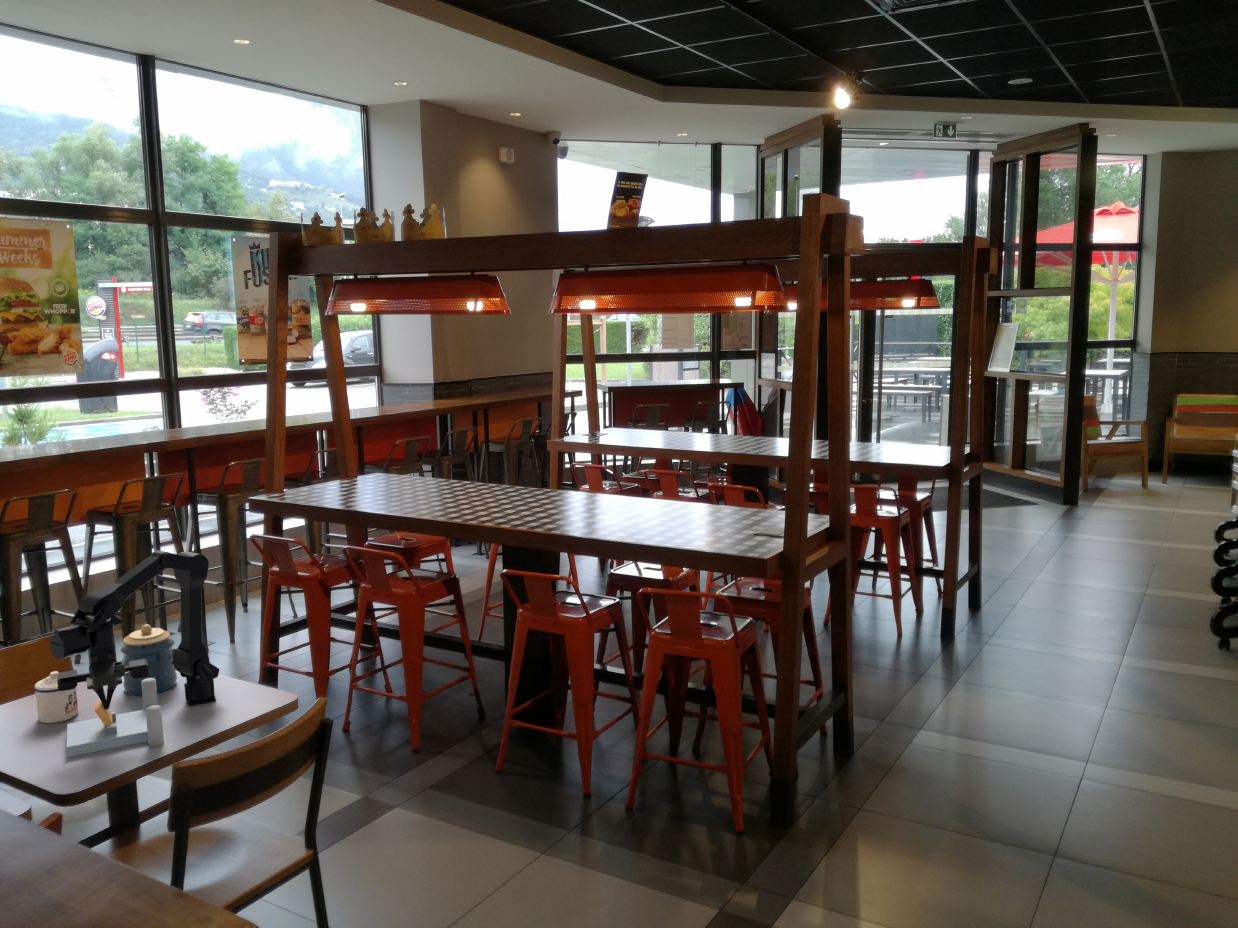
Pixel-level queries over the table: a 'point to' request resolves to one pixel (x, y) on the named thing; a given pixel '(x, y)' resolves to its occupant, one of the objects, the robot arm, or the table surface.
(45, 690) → the teacup with lid
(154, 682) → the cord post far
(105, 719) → the thick orange slab
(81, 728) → the panel
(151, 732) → the cord post near
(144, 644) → the canister
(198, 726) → the table surface
